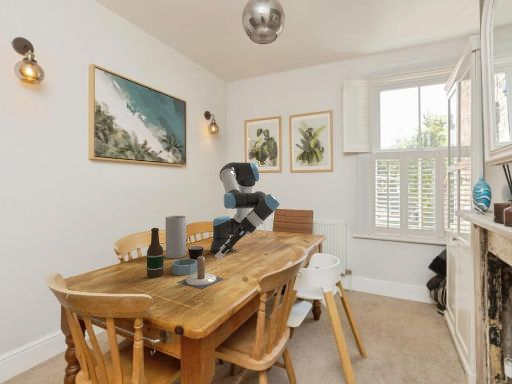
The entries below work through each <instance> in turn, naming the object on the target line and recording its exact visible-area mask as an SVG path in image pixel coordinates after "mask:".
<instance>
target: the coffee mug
mask: <svg viewBox="0 0 512 384" xmlns="http://www.w3.org/2000/svg"><path fill="white" fill-rule="evenodd" d="M187 250H188V257H189V258H188V259H194V260H197V257H200V256H203V255H204V246H202V245H192V246H188V248H187ZM203 257H204V256H203Z"/></svg>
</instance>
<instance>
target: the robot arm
mask: <svg viewBox="0 0 512 384" xmlns="http://www.w3.org/2000/svg"><path fill="white" fill-rule="evenodd" d="M219 179H220V180H219V181H221V182H222V184H223V187H224V191H225V193H224V194H223V206H224V208H225V209H231V210H234V209H236V213H234V215H233V217H232V218H231V216H230V215H223V216H219V217H218V216H217V217H215V218H214V219H213V221H212V242H211V245H210V252H211V253H214V254H215V255H214V257H215V258H216V259H217V260H218V261H219V260H221V258H223V257H224V255H227V253H230V252H232V251H233V247H234V246H235V245H236V244H237V242H238V243H239V241H240V240H241V239H242V238H244V236H246V235H249V234H253V233H254V232H255V230H257V227H260V226H261V225H263V224H264V221H266V220H267V219H268V218H269V217H270V216H271V215H272V214H273V213H274V212H275V211H276V210H277V209H278V208H279V206H280V202H279V200H278V199H276V197H274V196H273V194H272V193H268V194H266V193H265V192H263V191H262V190H256V191H254V192H253V187H254V186H255V185H256V182H259V180H260V170H259V167H258V164H257V163H255V162H250V161H249V162H238V161H237V162H234V161H231V162H229V163H226V164H225V165H223V166H222V167H221V169H220V171H219ZM250 210H251V211H250Z"/></svg>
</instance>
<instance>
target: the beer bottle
mask: <svg viewBox="0 0 512 384" xmlns="http://www.w3.org/2000/svg"><path fill="white" fill-rule="evenodd" d="M150 231H151V236H150V237H151V238H150V245H149V246H148V248H147V250H146V277H147V278H148V279H151V280H152V279H158V278H162V277H163V276H164V273H165V272H164V270H165V269H164V264H165V263H164V248H163V246H162V245H161V243H160V234H159V231H160V229H159V228H158V227H153V228H151V229H150Z"/></svg>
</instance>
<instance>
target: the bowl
mask: <svg viewBox="0 0 512 384" xmlns="http://www.w3.org/2000/svg"><path fill="white" fill-rule="evenodd" d="M171 263H172V264H171V267H172V268H171V274H173V275H176V276H190V275H193V274H197V260H194V259H189V258H183V259H181V258H179V259H177V260H174V261H172V262H171Z"/></svg>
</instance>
